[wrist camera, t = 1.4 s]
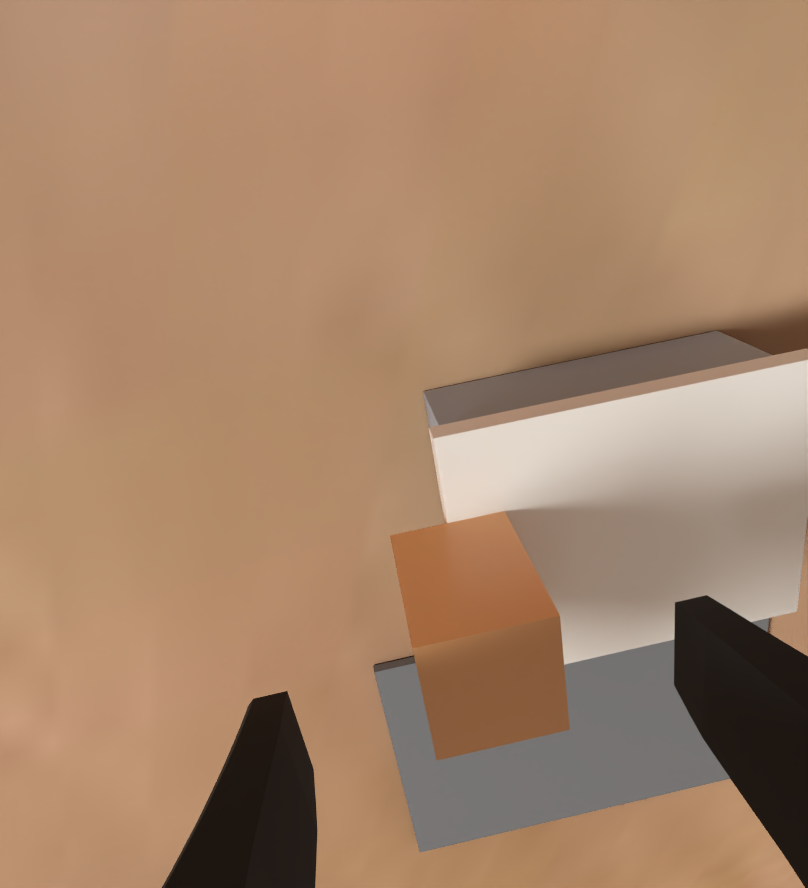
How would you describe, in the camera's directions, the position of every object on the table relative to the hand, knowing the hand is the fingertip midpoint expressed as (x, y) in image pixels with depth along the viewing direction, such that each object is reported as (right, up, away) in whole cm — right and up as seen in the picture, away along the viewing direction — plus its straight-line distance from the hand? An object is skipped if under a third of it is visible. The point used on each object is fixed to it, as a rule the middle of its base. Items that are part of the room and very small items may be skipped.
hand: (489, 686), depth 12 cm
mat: (+5, -5, +11) cm, 13 cm away
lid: (+4, +3, +4) cm, 6 cm away
